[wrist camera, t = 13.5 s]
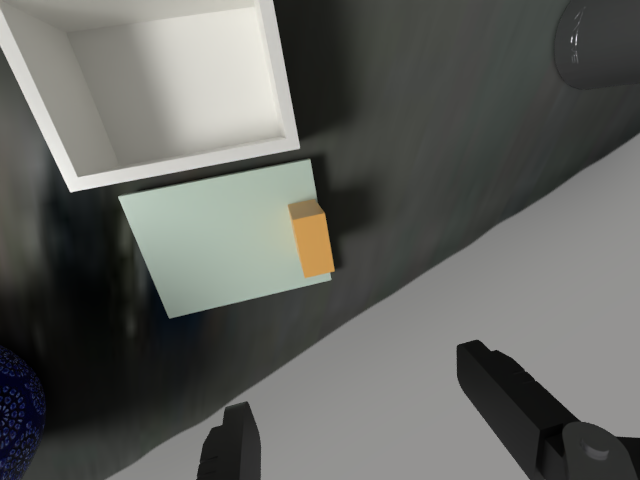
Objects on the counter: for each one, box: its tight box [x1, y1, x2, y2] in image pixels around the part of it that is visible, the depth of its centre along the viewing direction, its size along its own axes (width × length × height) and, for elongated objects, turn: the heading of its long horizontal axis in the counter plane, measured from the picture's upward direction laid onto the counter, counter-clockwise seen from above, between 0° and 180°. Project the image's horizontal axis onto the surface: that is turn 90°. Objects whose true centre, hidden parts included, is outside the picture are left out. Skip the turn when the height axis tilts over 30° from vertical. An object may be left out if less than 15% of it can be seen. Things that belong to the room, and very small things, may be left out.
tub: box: [0, 0, 300, 192], centre depth 21 cm, size 15×11×7 cm
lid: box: [118, 158, 335, 319], centre depth 26 cm, size 16×12×7 cm
